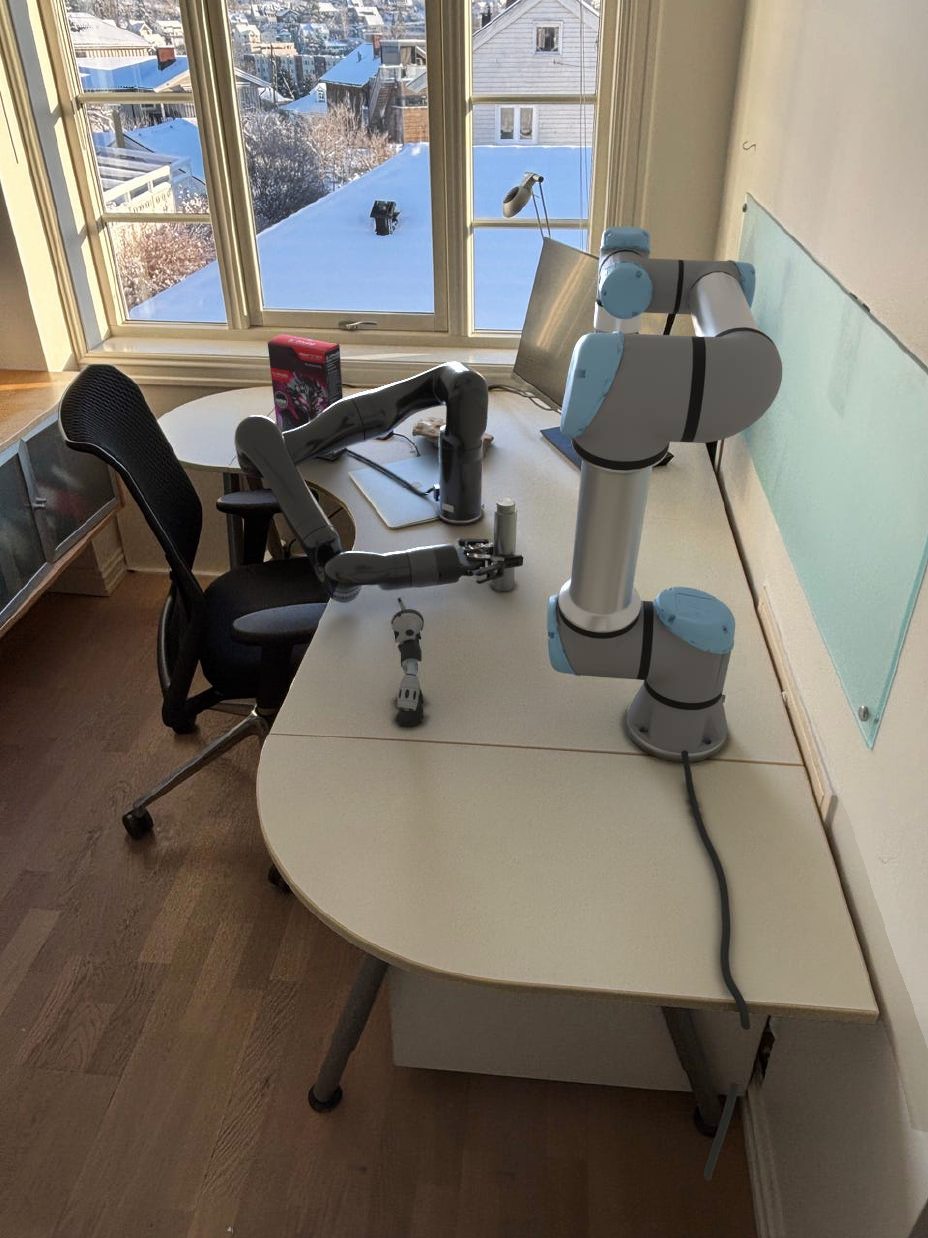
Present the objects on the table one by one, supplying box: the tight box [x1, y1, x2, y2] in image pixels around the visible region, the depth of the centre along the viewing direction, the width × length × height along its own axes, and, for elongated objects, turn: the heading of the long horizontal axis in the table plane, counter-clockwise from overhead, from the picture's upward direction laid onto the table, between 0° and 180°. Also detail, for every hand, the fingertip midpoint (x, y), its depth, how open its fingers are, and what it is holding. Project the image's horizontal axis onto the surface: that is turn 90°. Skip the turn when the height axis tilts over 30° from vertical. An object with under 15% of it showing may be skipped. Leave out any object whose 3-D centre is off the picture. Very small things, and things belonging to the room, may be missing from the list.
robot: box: [390, 597, 425, 728], centre depth 141 cm, size 20×5×20 cm, turn 3°
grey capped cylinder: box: [491, 497, 518, 592], centre depth 173 cm, size 4×4×18 cm
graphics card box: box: [267, 333, 348, 461], centre depth 223 cm, size 17×7×27 cm, turn 62°
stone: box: [411, 416, 495, 458], centre depth 231 cm, size 21×15×6 cm
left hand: (517, 553), depth 175 cm, fingers closed on grey capped cylinder, 4 cm apart
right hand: (603, 462), depth 162 cm, fingers closed on lid, 5 cm apart
